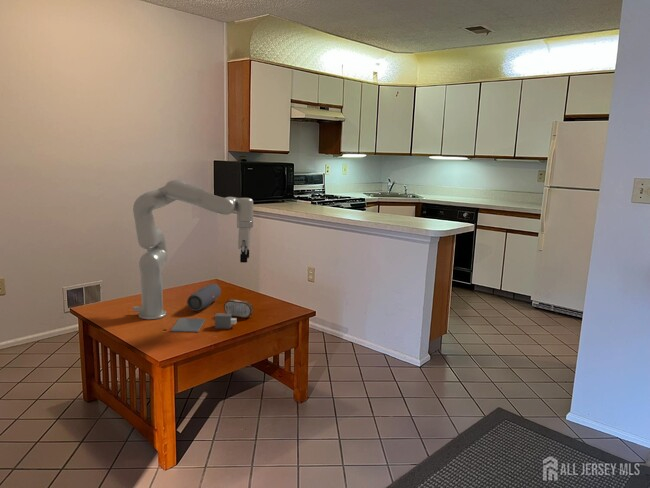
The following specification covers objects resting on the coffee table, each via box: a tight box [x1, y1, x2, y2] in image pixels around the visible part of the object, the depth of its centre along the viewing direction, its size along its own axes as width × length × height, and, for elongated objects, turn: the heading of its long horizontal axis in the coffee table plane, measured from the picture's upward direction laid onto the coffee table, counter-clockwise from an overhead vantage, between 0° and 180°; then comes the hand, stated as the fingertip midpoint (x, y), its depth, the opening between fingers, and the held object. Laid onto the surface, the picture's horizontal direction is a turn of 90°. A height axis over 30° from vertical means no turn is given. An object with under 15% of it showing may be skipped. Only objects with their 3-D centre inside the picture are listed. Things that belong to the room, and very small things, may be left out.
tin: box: [223, 298, 254, 319], centre depth 236 cm, size 15×3×8 cm, turn 74°
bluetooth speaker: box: [186, 283, 222, 312], centre depth 249 cm, size 23×9×10 cm, turn 168°
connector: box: [214, 312, 238, 330], centre depth 221 cm, size 9×4×6 cm, turn 93°
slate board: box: [170, 317, 206, 333], centre depth 221 cm, size 12×16×1 cm
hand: (244, 260), depth 228 cm, fingers open, 9 cm apart
